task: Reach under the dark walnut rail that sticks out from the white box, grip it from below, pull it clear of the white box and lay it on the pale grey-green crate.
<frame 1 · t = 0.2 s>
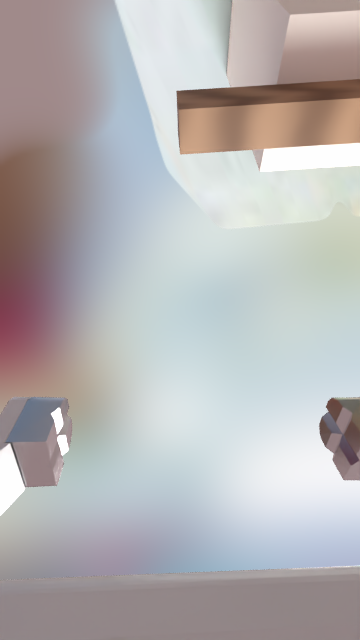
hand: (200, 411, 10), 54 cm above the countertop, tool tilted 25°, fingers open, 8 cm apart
walnut rail: (299, 106, 27), point 26 cm above the countertop, touching white box
white box: (296, 17, 41), on the countertop
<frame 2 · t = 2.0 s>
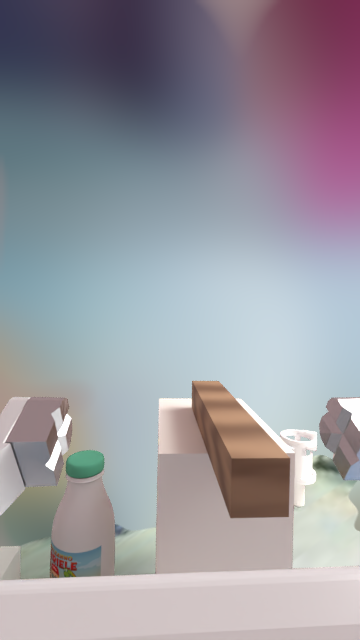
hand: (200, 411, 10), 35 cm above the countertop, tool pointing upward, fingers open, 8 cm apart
walnut rail: (221, 441, 29), point 26 cm above the countertop, touching white box
milk bottle: (82, 616, 38), on the countertop
white plastic fitting: (296, 503, 63), on the countertop
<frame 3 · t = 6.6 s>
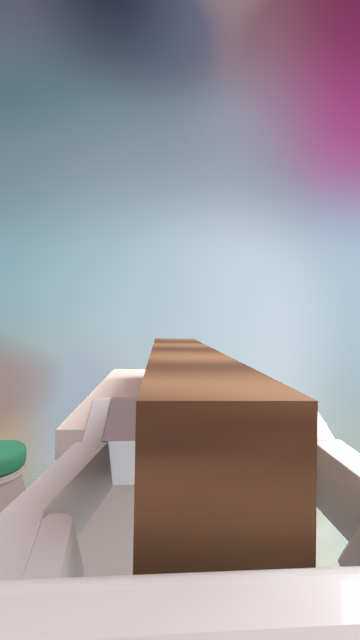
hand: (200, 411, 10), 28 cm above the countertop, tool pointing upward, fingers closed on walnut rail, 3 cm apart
walnut rail: (182, 412, 17), point 26 cm above the countertop, touching gripper, white box
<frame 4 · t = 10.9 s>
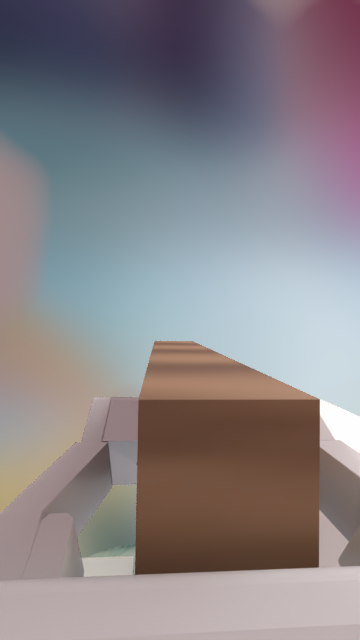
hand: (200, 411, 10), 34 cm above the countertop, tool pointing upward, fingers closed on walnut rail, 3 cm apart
walnut rail: (182, 415, 17), point 31 cm above the countertop, touching gripper
when the fingers open (18 cm above the countertop, at t = 15.1 s): walnut rail drops 1 cm, resting on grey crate.
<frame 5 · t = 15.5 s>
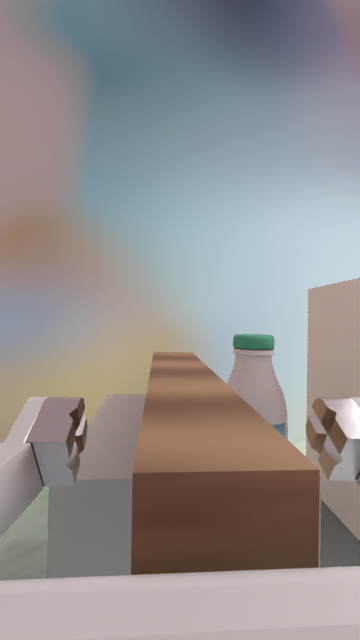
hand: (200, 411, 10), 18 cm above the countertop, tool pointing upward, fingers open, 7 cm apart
walnut rail: (181, 436, 17), point 15 cm above the countertop, touching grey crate
milk bottle: (251, 510, 35), on the countertop
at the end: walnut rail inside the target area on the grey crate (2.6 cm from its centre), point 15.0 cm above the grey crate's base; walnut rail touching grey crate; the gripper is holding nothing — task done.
